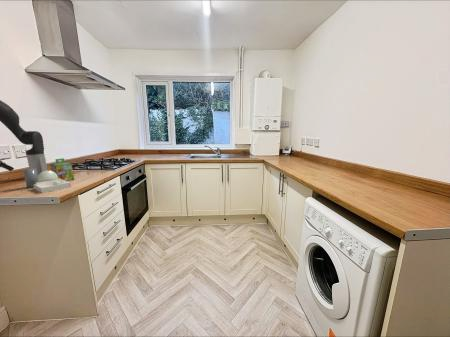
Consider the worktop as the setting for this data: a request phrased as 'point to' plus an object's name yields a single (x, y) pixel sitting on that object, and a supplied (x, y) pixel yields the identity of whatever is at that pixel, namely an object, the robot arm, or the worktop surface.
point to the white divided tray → (50, 182)
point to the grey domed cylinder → (30, 177)
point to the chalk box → (63, 170)
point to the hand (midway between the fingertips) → (11, 169)
